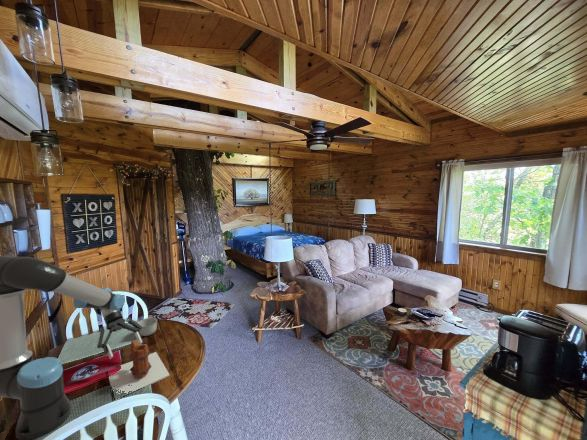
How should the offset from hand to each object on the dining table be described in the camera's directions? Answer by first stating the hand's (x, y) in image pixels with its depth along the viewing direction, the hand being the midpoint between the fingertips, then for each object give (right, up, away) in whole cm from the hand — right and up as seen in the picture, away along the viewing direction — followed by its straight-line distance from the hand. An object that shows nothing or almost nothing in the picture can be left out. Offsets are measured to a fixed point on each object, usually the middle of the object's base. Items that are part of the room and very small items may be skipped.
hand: (127, 350), depth 124 cm
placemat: (+9, -9, -5) cm, 13 cm away
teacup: (-9, -6, +30) cm, 32 cm away
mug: (+9, -9, -4) cm, 13 cm away
